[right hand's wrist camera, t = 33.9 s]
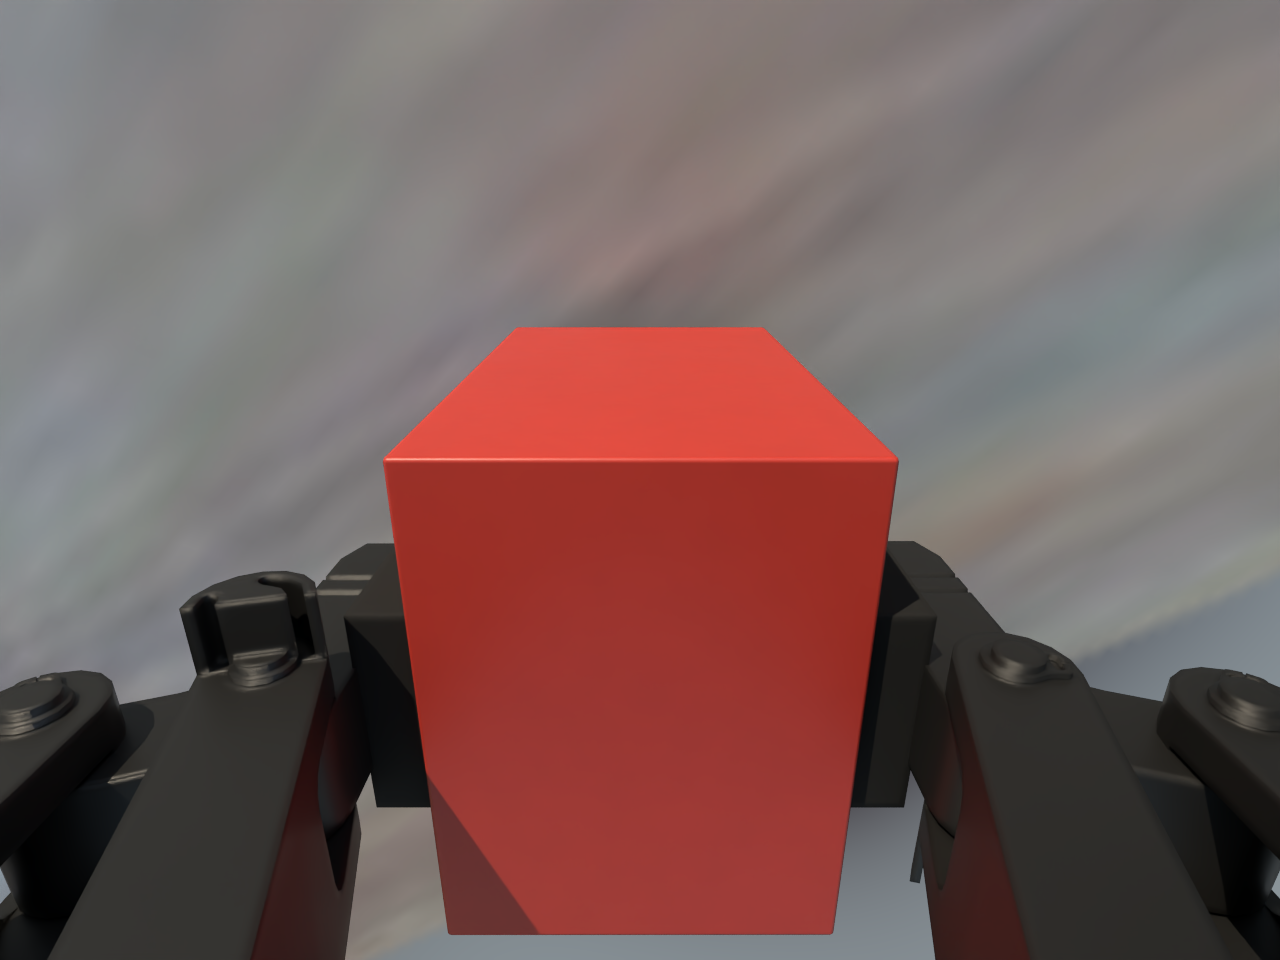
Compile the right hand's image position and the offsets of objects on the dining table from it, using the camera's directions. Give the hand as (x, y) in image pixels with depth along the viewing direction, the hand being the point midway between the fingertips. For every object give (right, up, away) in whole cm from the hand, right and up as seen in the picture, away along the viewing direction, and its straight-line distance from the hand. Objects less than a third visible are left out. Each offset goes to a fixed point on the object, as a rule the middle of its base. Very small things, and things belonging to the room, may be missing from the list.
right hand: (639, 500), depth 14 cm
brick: (0, 0, +1) cm, 1 cm away
